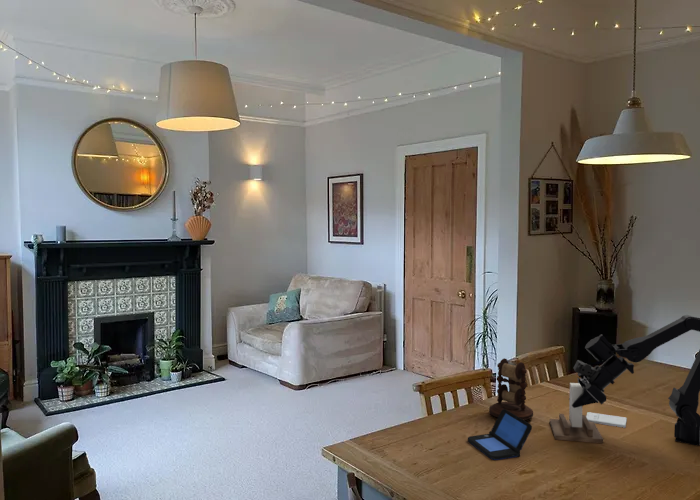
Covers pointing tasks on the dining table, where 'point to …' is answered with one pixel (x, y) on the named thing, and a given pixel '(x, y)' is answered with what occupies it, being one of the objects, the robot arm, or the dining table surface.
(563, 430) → the rack
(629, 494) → the dining table surface
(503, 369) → the wooden spool holder
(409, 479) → the dining table surface
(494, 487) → the dining table surface
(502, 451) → the handheld game console
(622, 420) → the external hard drive
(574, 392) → the cream rectangular block
